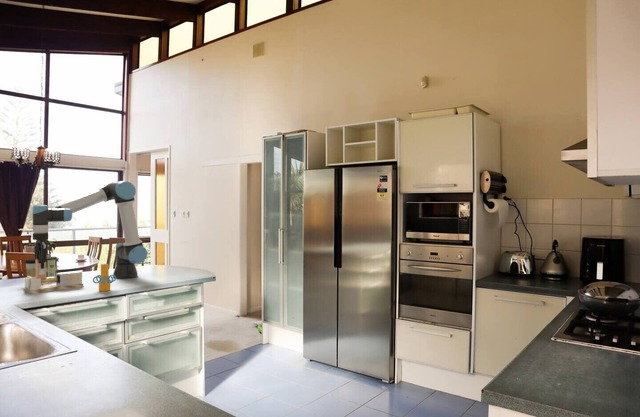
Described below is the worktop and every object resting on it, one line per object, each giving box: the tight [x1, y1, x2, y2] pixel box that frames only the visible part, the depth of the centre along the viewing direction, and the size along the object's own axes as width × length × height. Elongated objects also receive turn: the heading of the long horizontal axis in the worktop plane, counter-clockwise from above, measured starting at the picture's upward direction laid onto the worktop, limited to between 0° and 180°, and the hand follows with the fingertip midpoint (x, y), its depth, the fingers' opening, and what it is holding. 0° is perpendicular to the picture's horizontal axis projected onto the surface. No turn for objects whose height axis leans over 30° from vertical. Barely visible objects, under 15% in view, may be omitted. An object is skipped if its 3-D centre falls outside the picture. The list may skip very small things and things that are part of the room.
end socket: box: [24, 275, 42, 291], centre depth 246 cm, size 6×6×7 cm
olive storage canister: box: [24, 258, 36, 277], centre depth 269 cm, size 10×10×15 cm
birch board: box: [23, 283, 84, 295], centre depth 254 cm, size 28×9×2 cm, turn 140°
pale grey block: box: [55, 270, 83, 287], centre depth 260 cm, size 12×6×7 cm, turn 140°
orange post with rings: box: [92, 263, 117, 292], centre depth 252 cm, size 12×10×15 cm
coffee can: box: [46, 256, 58, 278], centre depth 286 cm, size 10×10×14 cm
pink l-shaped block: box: [36, 259, 60, 285], centre depth 253 cm, size 16×3×14 cm, turn 140°
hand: (40, 273), depth 249 cm, fingers closed on pink l-shaped block, 3 cm apart
